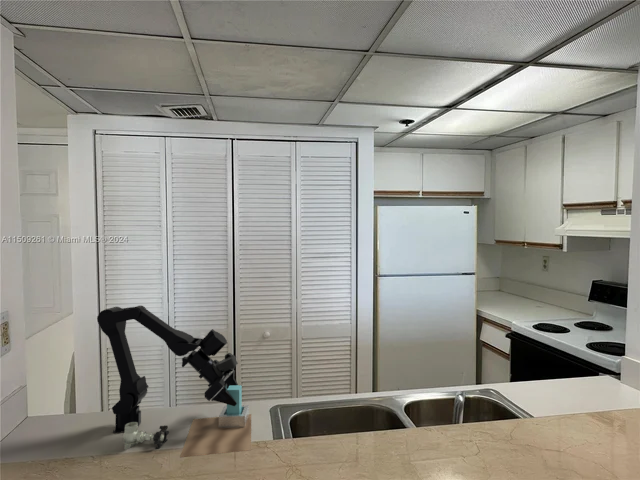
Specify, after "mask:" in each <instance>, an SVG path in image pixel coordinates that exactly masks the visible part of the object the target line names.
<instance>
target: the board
mask: <svg viewBox="0 0 640 480" xmlns="http://www.w3.org/2000/svg"><path fill="white" fill-rule="evenodd" d="M246 451H252V413H249V417H248V419H247V422H246V425H245V427H236V428H219V416H215V417H214V416H213V417H212V416H211V417H203V418H193V420H192V422H191V425H190V428H189V431H188V433H187V436H186V439H185V442H184V445H183V447H182V450H181V452H180V456H179V458H187V457H198V456H206V455H207V456H208V455H216V454H225V453H226V454H227V453H228V454H229V453H235V452H246Z"/></svg>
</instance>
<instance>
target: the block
mask: <svg viewBox="0 0 640 480" xmlns="http://www.w3.org/2000/svg"><path fill="white" fill-rule="evenodd" d="M242 389H243V386H242V385H241V384H240V385H239V384H238V385H231V386H229V387H228V389H227V391H228V392H229V393H230V395H231V396H232V397H233V398H234V400H235V401H236V403H237V404H236V405H235V406H232V405H229V404H226V406H227V415H241V414H242V405H243V403H242V401H243V400H242V398H243V395H242V394H243V390H242Z"/></svg>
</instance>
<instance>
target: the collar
mask: <svg viewBox="0 0 640 480" xmlns="http://www.w3.org/2000/svg"><path fill="white" fill-rule="evenodd" d="M249 414H250V405H249V404H246V405H245V404H244V405H243V404H242V414H241V415H227V405H224V406H223V407H222V409H221V411H220V413H219V415H218V417H219V428H236V427H245V425H246V422H247V419H248V417H249Z"/></svg>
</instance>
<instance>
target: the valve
mask: <svg viewBox="0 0 640 480" xmlns="http://www.w3.org/2000/svg"><path fill="white" fill-rule="evenodd" d="M138 427H139V426H138V422H130V423H127V424H126V425H125V432H123V435H122V440H123V442H124V451H127V450H129V449H131V448H132V447H135V446H136V445H138V443H143V442H144V441H145V440H146V441H152V440H153V444H154V446H155V450H159V449H161V447H162V446H163V445H164V444H165V443H167V442H168V438H167V437H168V435H170V430H168V425H166V424H165V425H160V426H159V428H158V429H159V431H156V432H155V433H154V434H153V433H146V431H145V430H140V431H139V429H138ZM162 433H163V434H162Z"/></svg>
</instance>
